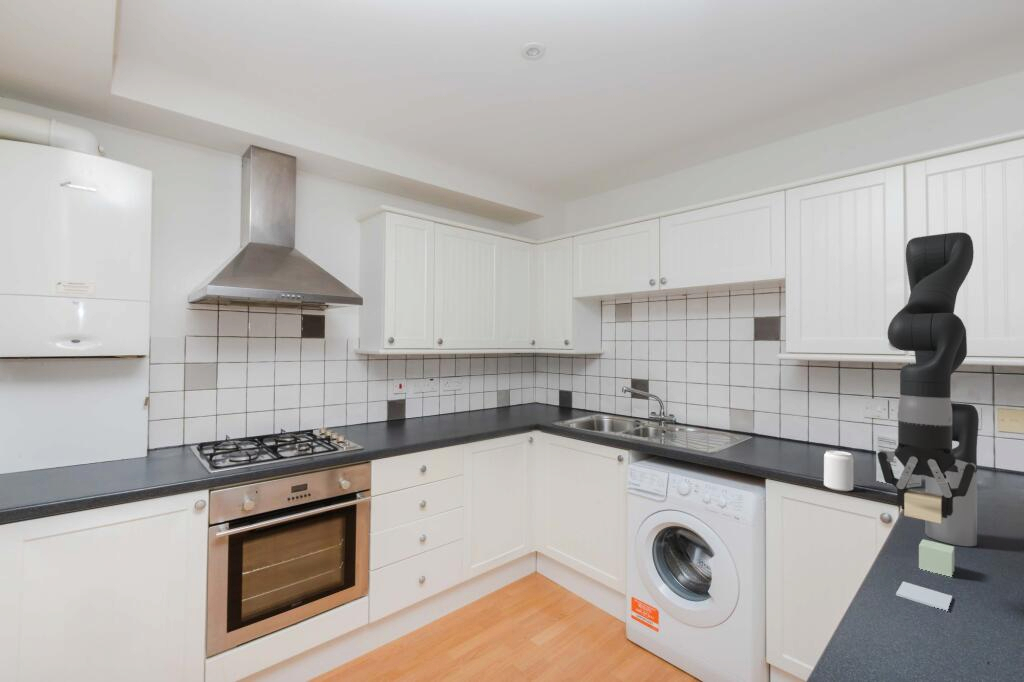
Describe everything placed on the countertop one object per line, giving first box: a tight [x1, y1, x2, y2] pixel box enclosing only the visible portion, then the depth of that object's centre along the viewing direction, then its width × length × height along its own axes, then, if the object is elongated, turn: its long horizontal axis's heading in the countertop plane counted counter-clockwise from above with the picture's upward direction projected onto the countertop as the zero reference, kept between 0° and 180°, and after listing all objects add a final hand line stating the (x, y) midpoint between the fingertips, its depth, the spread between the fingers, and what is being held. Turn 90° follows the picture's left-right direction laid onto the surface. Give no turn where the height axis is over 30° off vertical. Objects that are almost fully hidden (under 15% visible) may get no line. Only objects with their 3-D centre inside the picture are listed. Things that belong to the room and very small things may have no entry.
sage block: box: [918, 538, 955, 578], centre depth 97 cm, size 5×5×5 cm
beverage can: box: [823, 449, 854, 492], centre depth 156 cm, size 8×8×12 cm
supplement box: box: [875, 433, 922, 489], centre depth 164 cm, size 10×9×17 cm
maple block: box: [903, 488, 944, 523], centre depth 86 cm, size 5×5×4 cm
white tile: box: [895, 581, 953, 612], centre depth 85 cm, size 7×7×1 cm
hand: (924, 512), depth 86 cm, fingers closed on maple block, 5 cm apart
